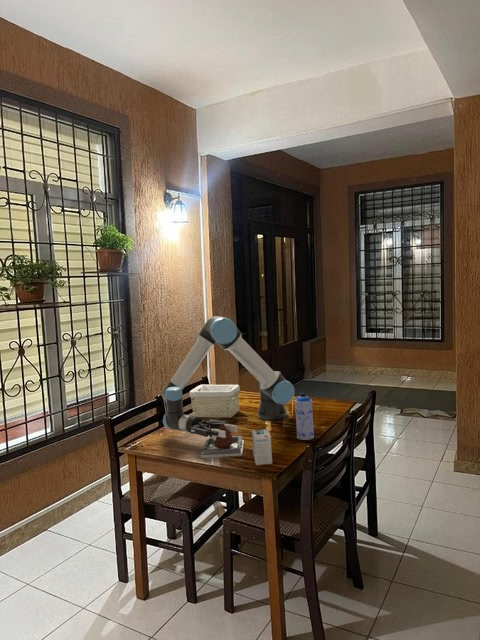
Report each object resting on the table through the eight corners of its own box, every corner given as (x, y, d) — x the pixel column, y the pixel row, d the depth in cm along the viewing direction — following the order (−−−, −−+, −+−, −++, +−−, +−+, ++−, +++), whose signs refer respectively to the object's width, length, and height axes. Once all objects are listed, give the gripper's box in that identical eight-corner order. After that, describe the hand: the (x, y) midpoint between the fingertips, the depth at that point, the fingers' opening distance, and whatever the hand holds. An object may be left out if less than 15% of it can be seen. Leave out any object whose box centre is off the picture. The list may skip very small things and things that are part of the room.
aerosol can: (316, 434, 219) (314, 391, 217) (310, 440, 212) (307, 396, 210) (300, 433, 223) (298, 390, 221) (293, 438, 216) (291, 394, 214)
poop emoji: (231, 449, 203) (229, 427, 202) (211, 449, 204) (209, 427, 203) (235, 440, 213) (234, 420, 212) (216, 440, 214) (215, 420, 213)
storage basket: (190, 418, 259) (188, 391, 258) (202, 409, 274) (200, 383, 273) (232, 419, 251) (230, 391, 250) (242, 410, 267) (240, 384, 265)
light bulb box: (253, 455, 200) (251, 430, 199) (269, 453, 201) (267, 428, 199) (256, 465, 189) (254, 438, 188) (273, 463, 190) (271, 437, 189)
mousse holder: (243, 442, 216) (243, 435, 216) (242, 455, 200) (241, 448, 200) (205, 444, 217) (205, 437, 217) (201, 457, 201) (200, 450, 201)
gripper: (206, 425, 227) (245, 433, 213) (176, 439, 212) (216, 447, 197) (205, 410, 226) (244, 416, 212) (174, 422, 211) (214, 430, 197)
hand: (230, 431), depth 205 cm, fingers closed on poop emoji, 7 cm apart
